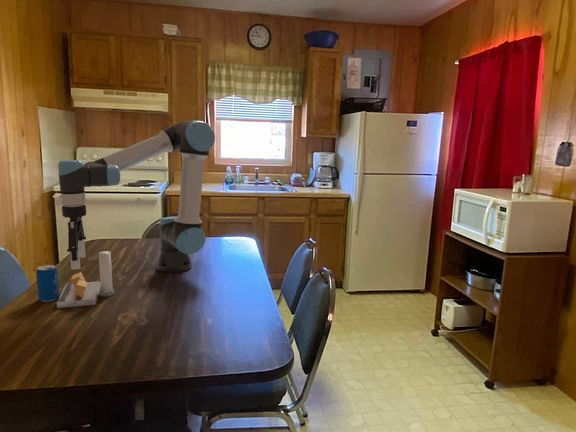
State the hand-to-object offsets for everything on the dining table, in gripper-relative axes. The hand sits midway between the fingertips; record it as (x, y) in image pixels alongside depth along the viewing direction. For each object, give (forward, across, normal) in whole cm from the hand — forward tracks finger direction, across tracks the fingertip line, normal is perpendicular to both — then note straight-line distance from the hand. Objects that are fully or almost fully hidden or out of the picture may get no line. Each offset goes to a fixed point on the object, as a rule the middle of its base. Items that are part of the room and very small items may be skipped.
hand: (78, 263), depth 149 cm
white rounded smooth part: (+13, 0, +9) cm, 15 cm away
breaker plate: (+13, 0, 0) cm, 13 cm away
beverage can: (+13, 0, -10) cm, 16 cm away
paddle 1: (+11, -4, 0) cm, 12 cm away
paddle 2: (+11, +5, 0) cm, 12 cm away
